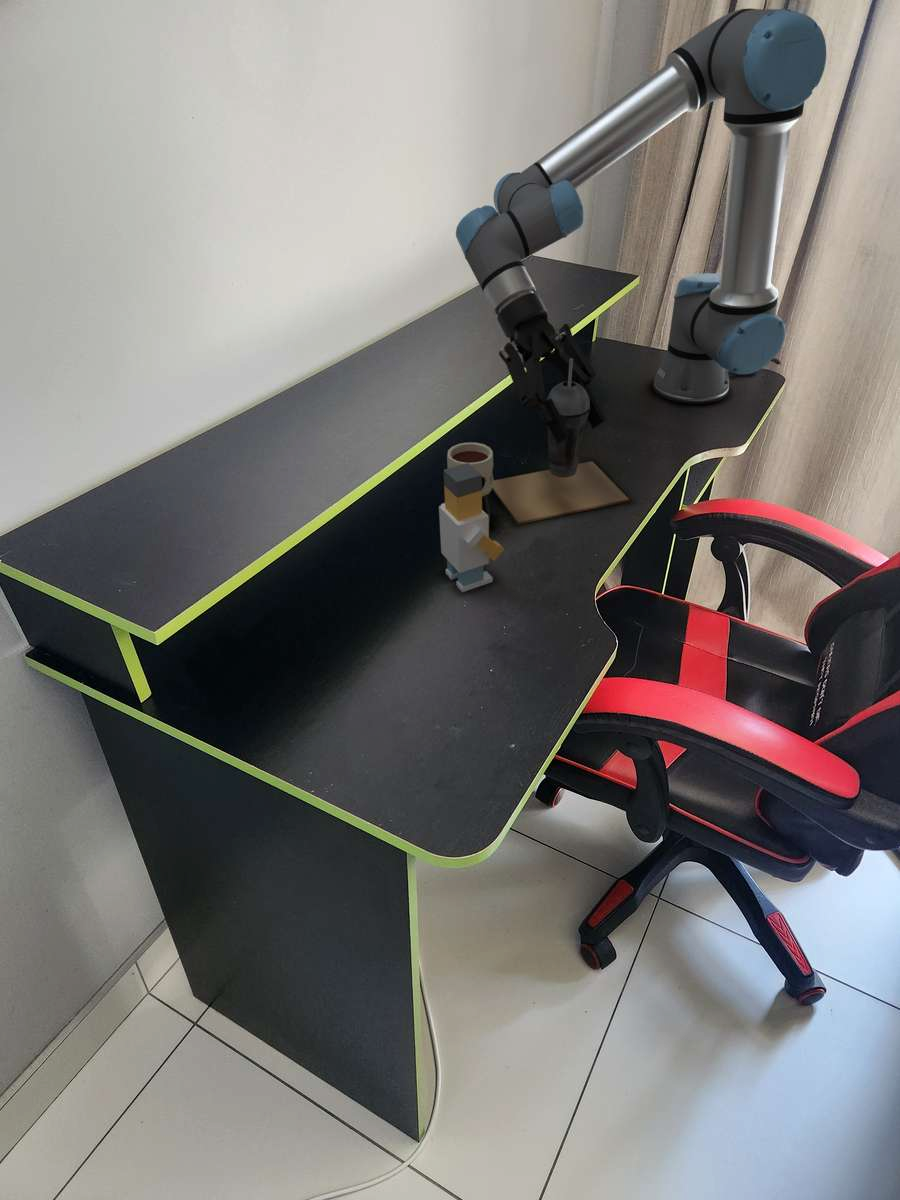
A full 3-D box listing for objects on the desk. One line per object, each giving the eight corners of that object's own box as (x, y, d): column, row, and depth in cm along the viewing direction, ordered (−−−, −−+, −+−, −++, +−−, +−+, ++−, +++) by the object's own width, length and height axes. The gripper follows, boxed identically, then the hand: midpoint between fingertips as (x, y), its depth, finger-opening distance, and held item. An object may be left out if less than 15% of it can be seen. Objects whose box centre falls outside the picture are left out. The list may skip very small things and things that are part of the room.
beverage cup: (584, 460, 134) (594, 346, 122) (585, 482, 129) (596, 365, 116) (541, 459, 135) (547, 346, 122) (541, 481, 129) (547, 364, 117)
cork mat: (591, 463, 142) (592, 460, 141) (628, 501, 131) (628, 498, 131) (488, 483, 137) (488, 481, 137) (518, 524, 127) (518, 522, 126)
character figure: (451, 556, 121) (447, 452, 109) (512, 573, 117) (514, 467, 105) (427, 584, 115) (419, 478, 104) (490, 603, 111) (490, 494, 100)
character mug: (468, 546, 122) (466, 474, 114) (433, 531, 126) (429, 460, 118) (508, 516, 129) (509, 445, 121) (474, 502, 133) (473, 433, 124)
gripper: (550, 302, 132) (611, 422, 132) (457, 331, 123) (523, 461, 123) (574, 277, 126) (639, 403, 126) (478, 306, 116) (548, 442, 116)
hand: (581, 431), depth 124 cm, fingers closed on beverage cup, 7 cm apart
